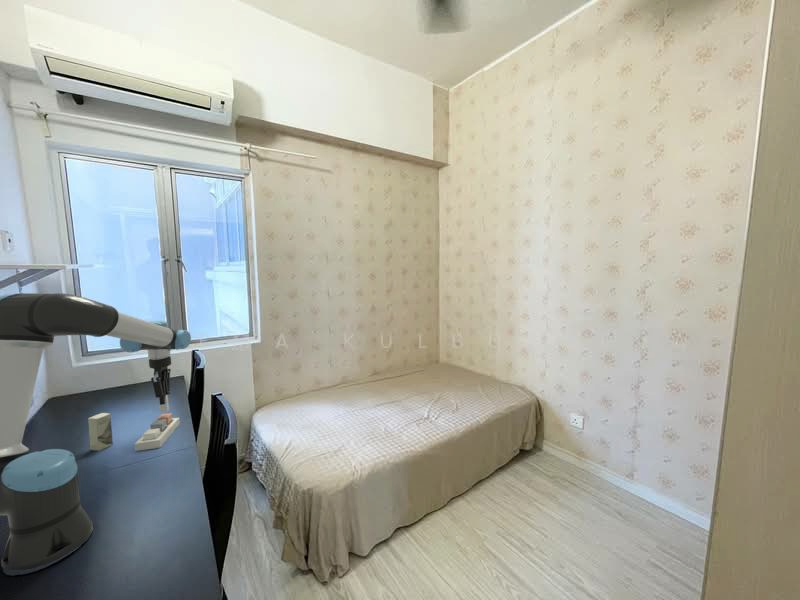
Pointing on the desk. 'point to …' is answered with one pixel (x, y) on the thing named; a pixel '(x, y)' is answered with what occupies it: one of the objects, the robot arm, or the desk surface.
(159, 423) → the key slate
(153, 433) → the key ivory
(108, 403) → the desk surface
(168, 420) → the key terracotta
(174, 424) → the keypad housing
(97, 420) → the box
